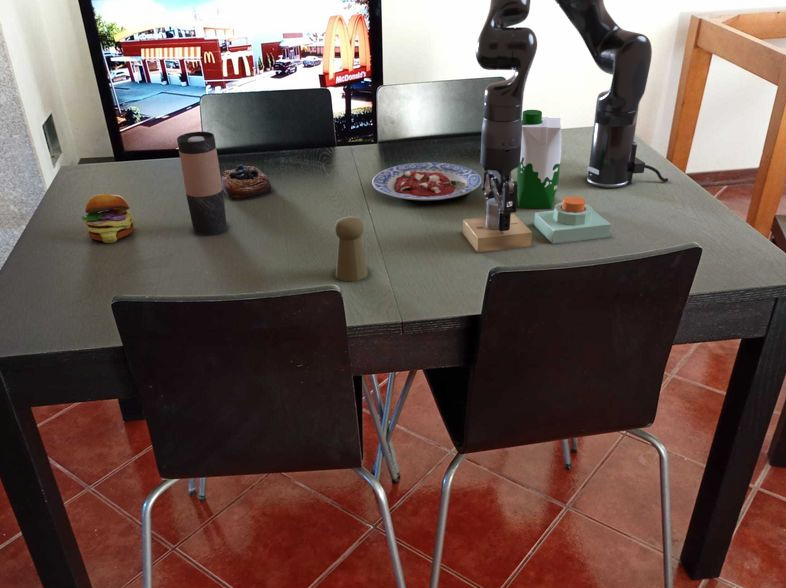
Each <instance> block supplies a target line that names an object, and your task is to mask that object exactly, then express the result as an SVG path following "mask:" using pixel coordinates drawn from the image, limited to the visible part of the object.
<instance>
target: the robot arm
mask: <svg viewBox="0 0 786 588" xmlns="http://www.w3.org/2000/svg"><path fill="white" fill-rule="evenodd" d="M554 1H555V3H556V4H557V6H558V7H559V8H560V9H561V10H562V12H563V13H564V15H565V16H566V17H567V19H568V20H569V22H570V23H571V24H572V26H573V27H574V28H575V30H576V31H577V33H579V36H580V37H581V38H582V40H583V42H584V44H585V46H586V48H587V50H588V51H589V54H590V55H591V57H592V60H593V61H594V62H595V64H596V66H597V67H598V68H599V70H601V71H603V72H604V73H605V74H608V75H612V78H611V83H610V88H609V89H608V90H604V91H602V92H600V93H598V95H597V97H596V105H595V113H594V121H593V131H592V139H591V147H590V155H589V162H588V163H589V164H588V165H587V169H586V170H587V177H586V182H587V183H588V184H589V185H592V186H594V187H598V188H605V189H614V188H615V189H616V188H622V187H625V186H627V185H631V184H632V183H633V177H634V176H633V175H635V174H643V173H645V169H648V170H651V171H652V172H653V173H655V174H656V176H657V178H658V179H659V180H660V181H661V182H664V183H665V182H668V181H669V178H668V177H666V178H665V177H663V176H662V174H661V172H660V171H659V169H657V168H655V167H654V166H651V165H648V164H646V162H645V161H643V160H641V159H640V158H638V157H637V148H638V143H637V142H636V141H635V137H636V130H637V123H638V117H639V110H640V103H641V100H642V99H643V97H644V96H645V93H646V89H647V84H648V79H649V75H650V74H649V73H650V69H651V63H652V57H653V56H652V55H653V48H652V43H651V41H650V39H649V37H648V36H647V35H646V34H643V33H640V32H635V31H631V30H626V29H623V28H622V27H621V26H619V25H618V24H617V22H615V20H614V19H613V17H612V16H611V15H610V13H609V12H608V10H607V8H606V6H605V1H604V0H554ZM530 9H531V0H490V5H489V10H488V14H487V16H486V19H485V22H484V25H483V26H482V29H481V31H480V33H479V35H478V38H477V41H476V45H475V58H476V61H477V63H478V65H479V66H480V68H482V69H484V70H487V71H514V73H513V75H512V76H511V77H510V78H508V79H504V80H501V81H496V82H493V83H491V84H488V85H487V86H486V88H485V89H484V95H483V103H484V104H483V119H482V125H481V139H480V160H479V162H480V166H481V169H482V170H481V179H482V182H481V188H480V189H481V192H483V196H484V198H485V201H484V215H486V208H487V200H489V199H491V198H494V199H495V202H497V203H498V209H499V216H498V230H499V231H508V230H509V229H510V217H511V214H515V213H516V212H517V206H518V194H517V191H518V183H517V181H513V176H512V172H513V170H517V167H518V166H519V165H520V157H521V143H522V115H523V108H524V107H523V106H524V105H523V104H524V103H523V102H524V94H525V88H526V84H527V81H528V76H529V74H530V70H531V69H532V66H533V63H534V61H535V57H536V54H537V50H538V40H537V39H538V38H537V36H536V34H535V32H534V31H533V30H532V29H531V28H530V27H525V26H524V27H523V26H521V27H520V26H518V27H517V26H516V25H519V24H521V23H523V22H524V21H526V19H528V17H529V15H530ZM513 26H516V27H513ZM507 203H508V206H507Z"/></svg>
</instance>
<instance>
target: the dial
mask: <svg viewBox="0 0 786 588" xmlns="http://www.w3.org/2000/svg"><path fill="white" fill-rule="evenodd" d="M507 206H508V203H507ZM498 216H499V209H498V203H497V202H495V199H494V198H491V199H489V200H487V208H486V214H485V217H486V227H488V228H490V229H494V230H498Z"/></svg>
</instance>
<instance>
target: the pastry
mask: <svg viewBox="0 0 786 588" xmlns="http://www.w3.org/2000/svg"><path fill="white" fill-rule="evenodd" d="M221 182H222V189H223V193H224V194H225V196H226V197H227V198H229V199H230V200H231V201H245V200H251V199H257V198H261V197H264V196H266V195H269V194H272V184H271V182H270V179H269V177H268V176H267V175H266V174H265V173H263V172H262V170H261V169H259V168H258V167H255V166H254V165H253V166H249V165H248V166H247V165H244V164H243V163H241V164H238V165H237V166H236V168H232V169H225V170H224V171H223V172H221Z"/></svg>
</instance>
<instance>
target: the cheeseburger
mask: <svg viewBox="0 0 786 588" xmlns="http://www.w3.org/2000/svg"><path fill="white" fill-rule="evenodd" d="M130 209H131V206H130V205H129V204H128V202H127V200H125V198H124V197H122V196H121V195H119V194H109V193H100V194H96V195H92V196H90V198H89V199H88V200H87V203H86V205H85V210H84V211H85V213H86V214H85V215H83V216H81V220H82V221H83V224H84V225H86V230H88V235H89V237H90V239H93V240H95V241H99V242H103V243H106V244H113V243H115V242H117V241H118V240H119V239H123V238H124V237H127V236H128V235H130V234H131V233H132V232H134V231H135V230H134V229H135V227H134V224H135V220H134V218H133V215H132V213H131V211H128V210H130Z"/></svg>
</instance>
